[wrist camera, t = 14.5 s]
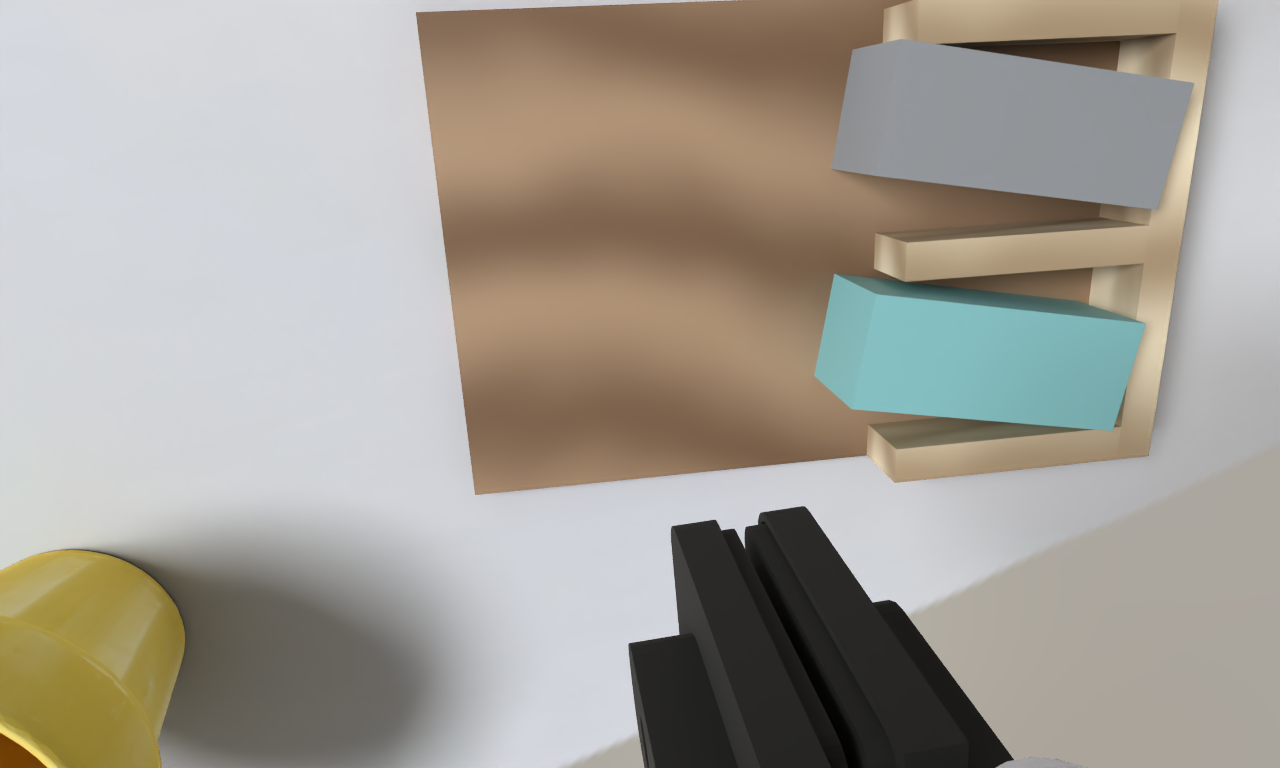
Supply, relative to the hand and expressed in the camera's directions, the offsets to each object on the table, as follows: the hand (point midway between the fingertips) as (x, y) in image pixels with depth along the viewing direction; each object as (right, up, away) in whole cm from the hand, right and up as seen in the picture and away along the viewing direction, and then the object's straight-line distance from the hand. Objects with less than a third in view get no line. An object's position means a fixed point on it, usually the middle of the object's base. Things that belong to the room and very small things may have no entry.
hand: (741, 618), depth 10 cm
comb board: (+5, +8, +18) cm, 20 cm away
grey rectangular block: (+10, +11, +16) cm, 22 cm away
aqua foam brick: (+9, +5, +19) cm, 21 cm away
